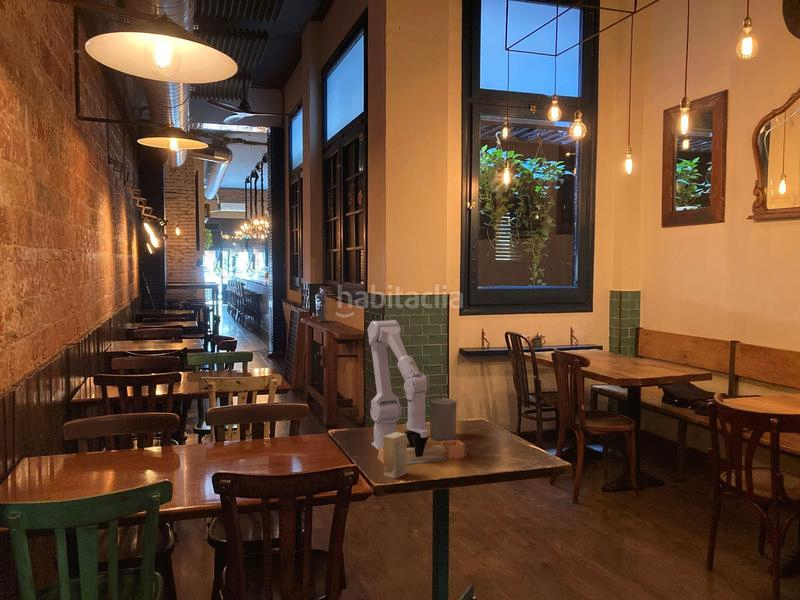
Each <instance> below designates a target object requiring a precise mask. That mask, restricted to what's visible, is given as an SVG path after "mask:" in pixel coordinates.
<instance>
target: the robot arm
mask: <svg viewBox="0 0 800 600" xmlns="http://www.w3.org/2000/svg"><path fill="white" fill-rule="evenodd" d="M401 332H402V329H401V326H400V323H399V322H398V321H397V320H396V319H391V320H372V321H371V322H370V323H369V325H368V327H367V335H368V344H369V346H371V347H370V348H371V356H372V363H373V371H374V379H375V380H374V381H375V387H376V395H375V396H374V397H373V398H372V399H371V401H370V417H371V419H372V420H373V422H374V424H373V442H371V445H372V447H374V448H375V449H376V450H378V447H383V436H385V435H388V434H391V433H394V432H398V431H397V427H398V426H397V422H399V419H400V418H401V416H402V413H403V411H402V410H403V409H402V405H401V404H400V399H399V397H398V396H397V395H396V394H394V393H393V390H392V389H393V388H392V383H391V376H390V374H391V373H390V368H389V367H390V366H389V359H388V358H389V357H388V350H387V348H388V347H390V348H391V351H392V352H393V353H394V356H395V357H396V359H397V361H398V362H397V364H396V365H397V368H398V370H399V372H400V374H401V376H402V378H403V380H404V384H403V389H404V391H405V398H406V400H407V421H406V425H405V426H406V428H407V430H405V431H404V434H406V440H407V441H408V442H407V443H408V446H409V448H413V447H414V449H415V455H416V457H422V456H423V452H424V448H425V446H427V445H426V444H427V442H428V440H429V438H430V434H429V433H428V430H427V429H430V425H428V424H426V393H427V392H428V391H429V389H430V382H429V379H428V377H427V375H425V374H424V373H423V372H421V371H420V370H419V368H418V365H417V364H416V362H415V360H414V358H413V357H412V356H410V355H408V353H407V351H406V348H405V345H404V343H403V340H402V338H401ZM428 434H429V435H428Z"/></svg>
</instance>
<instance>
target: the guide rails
mask: <svg viewBox="0 0 800 600" xmlns="http://www.w3.org/2000/svg"><path fill="white" fill-rule="evenodd" d="M376 457H377V460H378V455H377V456H376ZM440 460H443V461H448V460H449V458H448V456H445V457H443V458H433V459H423V460H413V461H407V465H412V464H421V463H422V464H423V463H424V464H425V463H431V462H432V463H433V462H441V461H440Z"/></svg>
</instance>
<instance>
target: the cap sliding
mask: <svg viewBox="0 0 800 600" xmlns="http://www.w3.org/2000/svg"><path fill="white" fill-rule="evenodd" d="M377 451H378V452H377V456H378V459H377V460H378V461H379V460H380V461H381V462H382V463H383V464H382V463H381V462H380V461H379V462H380V463H381V464H382V465H384V462H383V447H378V449H377Z"/></svg>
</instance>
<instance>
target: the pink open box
mask: <svg viewBox="0 0 800 600" xmlns="http://www.w3.org/2000/svg"><path fill="white" fill-rule="evenodd" d="M440 445H441V446H443V447H444V448H445V453H446V454H448V456H447V457H448V460H451V459H452V458H454V459H461V458H462V459H463V458H467V444H465V443H464V442H462V441H460V440H458V439H453V440H447V441H441V440H440Z"/></svg>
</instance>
